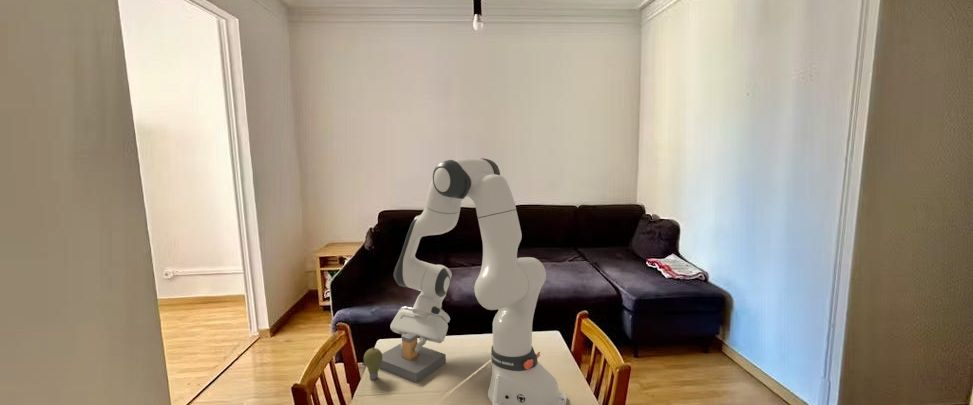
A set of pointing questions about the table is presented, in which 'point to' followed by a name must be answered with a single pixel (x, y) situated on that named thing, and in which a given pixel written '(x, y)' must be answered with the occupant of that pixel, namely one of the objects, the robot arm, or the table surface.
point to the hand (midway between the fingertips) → (409, 349)
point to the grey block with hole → (412, 363)
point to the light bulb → (373, 361)
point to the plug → (409, 346)
